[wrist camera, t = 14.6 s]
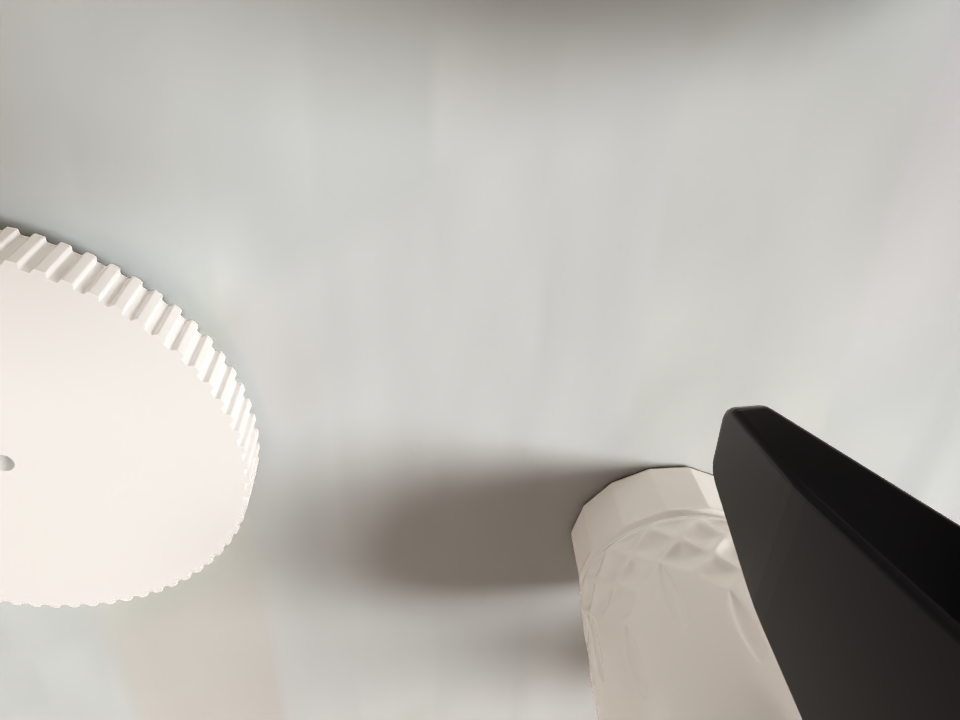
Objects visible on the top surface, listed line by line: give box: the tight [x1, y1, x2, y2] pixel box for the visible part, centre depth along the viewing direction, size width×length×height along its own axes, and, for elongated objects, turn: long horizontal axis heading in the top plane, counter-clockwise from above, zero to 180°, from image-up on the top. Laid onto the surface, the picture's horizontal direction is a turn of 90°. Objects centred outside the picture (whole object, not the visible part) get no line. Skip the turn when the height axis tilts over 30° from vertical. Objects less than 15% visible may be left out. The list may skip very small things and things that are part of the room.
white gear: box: [0, 226, 259, 608], centre depth 21 cm, size 14×14×2 cm
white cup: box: [571, 467, 802, 720], centre depth 23 cm, size 8×8×10 cm
